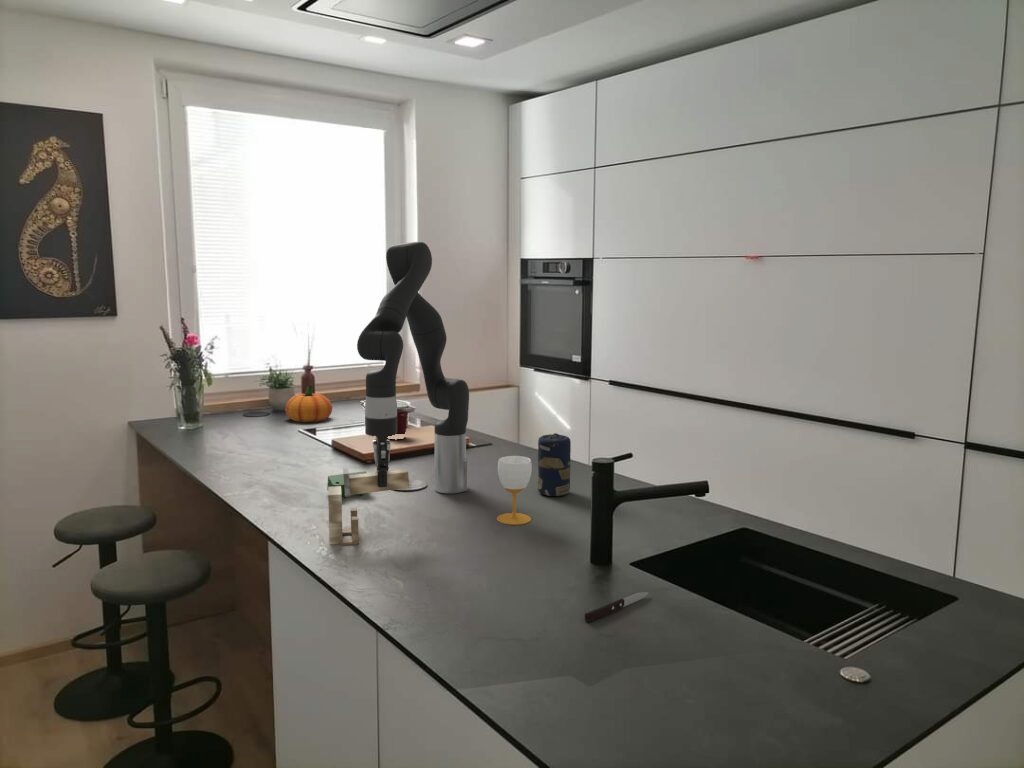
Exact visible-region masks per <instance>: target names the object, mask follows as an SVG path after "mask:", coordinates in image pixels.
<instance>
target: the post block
mask: <svg viewBox="0 0 1024 768" xmlns="http://www.w3.org/2000/svg"><path fill="white" fill-rule="evenodd" d="M327 492H328V493H327V494H328V495H327V496H328V497H327V498H328V500H327V501H328V531H329V532H328V533H329V535H328V536H329V545H339V544H340V546H348V545H349V546H350V545H359V544H360V542H359V541H360V538H359V534H360V533H359V531H360V530H359V516H358V507H350V528H344V529H343V509H342V508H343V506H342V505H343V503H342V501H343V500H342V499H343V498H342V494H341V486H334V487H328V490H327ZM349 535H350V536H351V538H343V536H349Z"/></svg>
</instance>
